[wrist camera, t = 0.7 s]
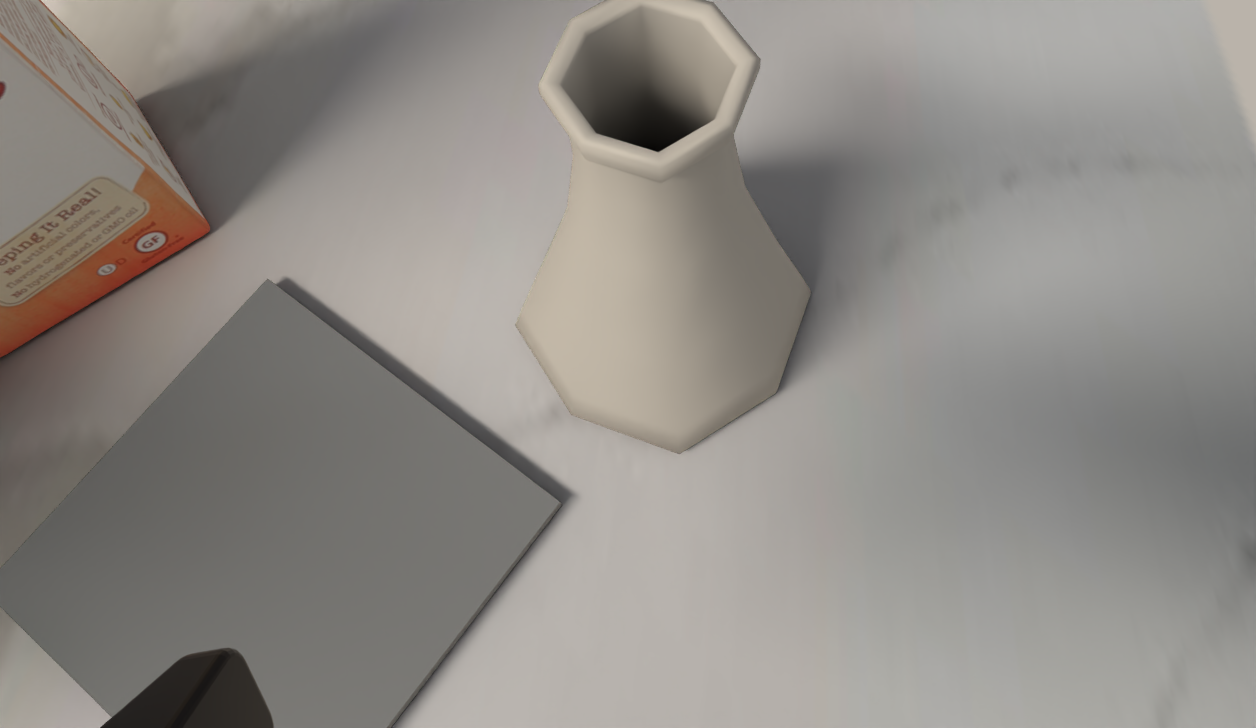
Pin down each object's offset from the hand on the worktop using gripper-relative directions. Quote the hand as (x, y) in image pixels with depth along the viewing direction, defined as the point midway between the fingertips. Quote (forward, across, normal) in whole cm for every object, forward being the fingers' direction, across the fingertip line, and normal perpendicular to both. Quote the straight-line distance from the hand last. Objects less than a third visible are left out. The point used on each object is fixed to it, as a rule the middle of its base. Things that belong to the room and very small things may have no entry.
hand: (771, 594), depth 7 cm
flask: (+15, 0, +4) cm, 16 cm away
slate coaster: (+12, +10, +7) cm, 17 cm away
